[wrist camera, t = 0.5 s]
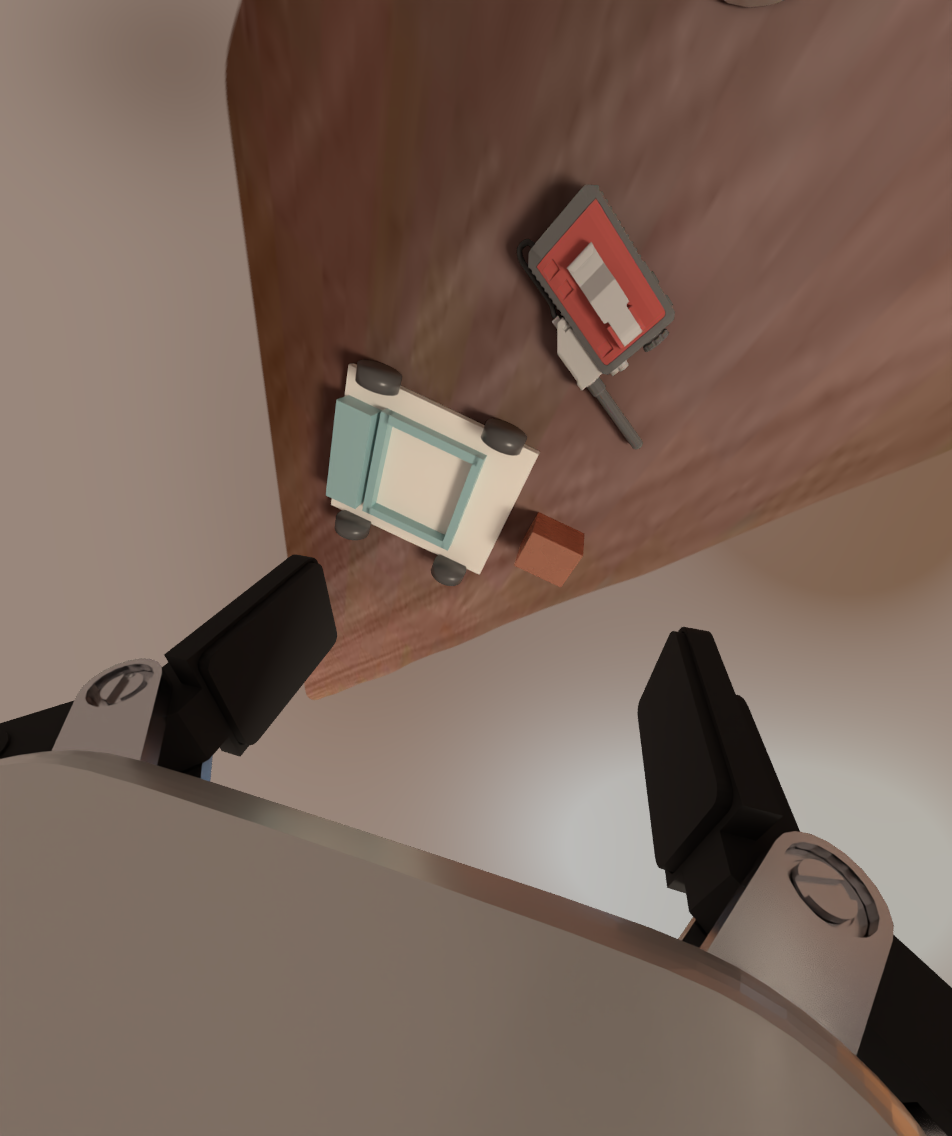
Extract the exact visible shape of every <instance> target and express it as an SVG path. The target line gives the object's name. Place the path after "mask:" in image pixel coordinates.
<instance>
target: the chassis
mask: <svg viewBox="0 0 952 1136" xmlns="http://www.w3.org/2000/svg"><path fill="white" fill-rule="evenodd" d="M401 380H402V375H401V374H400V373H399V372H398V371H397V370H395V369H394V368H392V367H390V366H387V365H385V364H382V363H379V362H376V361H371V360H359V361H358V362H357V365H356V364H354V363H352V364H349V365H348V373H347V381H346V389H345V397H342V398H340V399H337V400H336V409H335V418H334V427H333V436H332V445H331V454H330V462H329V471H328V480H327V489H326V496H328V497H330V498H332V501H331V505H332V506H335V507H337V508H339V509H341V510H343V511H341V512H339V513H338V514H337V515H336V521H335V531H336V532H337V533H338V534H339V535H340V536H341V537H343V538H346V539H350V540H361V539H364V538H366V537H367V536H368V534H369V530H370V525H371V524H373V525H375V526H377V527H379V528H381V529H383V530H386V531H388V532H390V533H392V534H394V535H396V536H398V537H400V538H403V539H405V540H407V541H409V542H411V543H413V544H415V545H418V546H420V547H422V548H424V549H426V550H428V551H430V552H432V553H435V554H437V555H438V556H437V557H436V558H435V560H434V563H433V565H432V568H431V574H432V576H433V577H434V579H435V580H437V581H438V582H439V583H441V584H444V585H447V586H455V585H458V584H460V583H461V581H462V579H463V577H464V575H465V573H466V569H469V570H471V571H473V572H475V573H477V574H479V575H480V573H481V571H482V568H483V566H484V564H485V562H486V560H487V558H488V556H489V554H490V552H491V550H492V548H493V546H494V544H495V542H496V540H497V538H498V536H499V534H500V532H501V530H502V528H503V526H504V524H505V522H506V520H507V518H508V516H509V514H510V512H511V510H512V508H513V506H514V504H515V502H516V500H517V498H518V495H519V493H520V491H521V489H522V487H523V485H524V483H525V481H526V479H527V477H528V475H529V473H530V471H531V469H532V467H533V465H534V463H535V461H536V459H537V457H538V455H539V452H540V451H538V450H536V449H534V448H531V447H529V446H527V445H525V442H526V440H527V436H526V434H525V433H524V432H523V431H522V430H520V429H519V428H517V427H516V426H514V425H512V424H510V423H508V422H505V421H502V420H498V419H488V420H487V421H486V424H485V425H483V424H481V423H479V422H477V421H474V420H472V419H470V418H468V417H466V416H464V415H462V414H460V413H458V412H455V411H453V410H451V409H449V408H447V407H445V406H443V405H441V404H439V403H436V402H434V401H432V400H430V399H428V398H426V397H424V396H422V395H420V394H417V393H415V392H413V391H411V390H409V389H407V388H405V387H403V386H401Z"/></svg>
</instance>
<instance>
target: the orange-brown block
mask: <svg viewBox="0 0 952 1136" xmlns="http://www.w3.org/2000/svg"><path fill="white" fill-rule="evenodd" d="M583 548H584V533H582V532H580V531H578V530H575V529H573V528H571V527H569V526H567V525H565V524H563V523H561V522H558V521H556V520H554V519H552V518H550V517H548V516H546V515H544V514H542V513H539V512H538V514H537V516H536V517H535V519H534V521H533V523H532V525H531V526H530V528H529V530H528V532H527V534H526V535H525V537H524V539H523V541H522V543H521V545H520V548H519V551H518V554H517V558H516V561H515V564H514V566H516V567H518V568H521V569H523V570H525V571H527V572H529V573H531V574H533V575H535V576H538V577H540V578H542V579H544V580H546V581H548V582H550V583H552V584H555V585H557V586H559V587H561V586H562V585H563V584H564V582H565V581H566V579H567V578H568V577H569V575H570V574H571V572H572V571H573V569H574V568H575V567H576V565H577V564H578V562H579V561H580V560H581V558H582V557H583Z"/></svg>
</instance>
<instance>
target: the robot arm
mask: <svg viewBox="0 0 952 1136" xmlns="http://www.w3.org/2000/svg"><path fill="white" fill-rule="evenodd" d="M724 1H725V2H727V3H729V4H734V5H739V6H744V7H758V6H767V5H773V4H776V3H779V2H781V1H784V0H724ZM336 639H337V631H336V626H335V622H334V617H333V613H332V608H331V604H330V600H329V595H328V591H327V586H326V582H325V577H324V573H323V569H322V566H321V565H320V564H318V562H317V560H316V559H315V558H312V557H307V556H301V555H292V556H290V557H289V558H287V559H286V560H285V561H284V562H283V563H281V564H280V565H278V566H277V567H276V568H275V569H273V570H272V571H271V572H270V573H268V574H267V575H266V576H264V577H263V578H262V579H261V580H259V581H258V582H257V583H255V584H254V585H253V586H252V587H250V588H249V589H248V590H247V591H245V592H244V593H243V594H241V595H240V596H239V597H237V598H236V599H235V600H234V601H232V602H231V603H230V604H229V605H227V606H226V607H225V608H223V609H222V610H221V611H220V612H218V613H217V614H216V615H214V616H213V617H212V618H211V619H209V620H208V621H207V622H205V623H204V624H203V625H202V626H200V627H199V628H198V629H196V630H195V631H194V632H193V633H192V634H190V635H189V636H188V637H186V638H185V639H184V640H183V641H181V642H180V643H179V644H177V645H176V646H175V647H174V648H172V649H171V650H170V651H168V652H167V653H166V654H165V657H166V658H167V660H168V663H167V664H166V665H165V666H163V667H161V665H160V664H159V663H158V662H157V661H155V660H152V659H135V660H130V661H126V662H123V663H120V664H117V665H114V666H112V667H110V668H108V669H106V670H104V671H103V672H101V673H99V674H98V675H96V676H95V677H93V678H92V679H91V680H89V681H88V682H87V683H86V684H85V685H84V686H83V687H82V689H81V690H80V691H79V693H78V694H77V696H76V698H75V700H74V701H71V702H68V703H65V704H61V705H58V706H55V707H52V708H48V709H45V710H42V711H39V712H36V713H32V714H29V715H26V716H23V717H20V718H16V719H13V720H10V721H7V722H3V723H0V1136H952V988H951V987H950V986H949V985H948V984H947V983H946V982H945V981H944V980H942V979H941V978H940V977H939V976H938V975H937V974H936V973H935V972H934V971H933V970H931V969H930V968H929V967H928V966H927V965H926V964H925V963H924V962H923V961H922V960H921V959H920V958H918V957H917V956H916V955H915V954H914V953H913V952H912V951H911V950H910V949H909V948H907V947H906V946H905V945H904V944H903V943H902V942H901V941H899V939H897V938H896V937H895V936H894V935H893V926H894V925H893V922H892V918H891V916H890V912H889V909H888V906H887V904H886V903H885V901H884V899H883V897H882V896H881V894H880V892H879V890H878V889H877V887H876V886H875V885H874V883H873V882H872V881H871V880H870V878H869V877H868V876H867V875H866V874H865V872H864V871H863V870H862V869H861V868H860V867H859V866H858V865H857V864H856V863H855V862H853V860H851V859H850V858H849V857H848V856H847V855H846V854H845V853H843V852H842V851H841V850H839V849H837V848H836V847H835V846H833V845H832V844H830V843H829V842H827V841H825V840H823V839H820V838H818V837H816V836H814V835H812V834H808V833H803V832H800V831H799V828H798V826H797V823H796V821H795V818H794V816H793V814H792V812H791V809H790V806H789V804H788V802H787V799H786V797H785V794H784V792H783V790H782V787H781V785H780V782H779V780H778V777H777V775H776V773H775V771H774V768H773V765H772V763H771V760H770V758H769V756H768V753H767V751H766V748H765V746H764V744H763V741H762V739H761V736H760V734H759V731H758V729H757V727H756V724H755V722H754V719H753V717H752V715H751V712H750V710H749V707H748V706H747V704H746V702H745V700H744V699H743V698H742V697H741V696H739V695H736V694H735V692H734V689H733V687H732V684H731V682H730V679H729V677H728V674H727V671H726V669H725V666H724V664H723V662H722V659H721V656H720V654H719V651H718V649H717V646H716V643H715V641H714V638H713V636H712V634H711V633H710V632H709V631H703V630H698V629H693V628H687V627H682V628H681V629H680V630H679V631H678V632H675V631H672V632H671V633H670V635H669V637H668V639H667V641H666V643H665V646H664V648H663V650H662V652H661V654H660V657H659V659H658V661H657V663H656V665H655V668H654V670H653V672H652V674H651V677H650V679H649V681H648V683H647V686H646V688H645V690H644V692H643V694H642V697H641V699H640V701H639V705H638V722H639V730H640V738H641V746H642V755H643V763H644V771H645V779H646V787H647V795H648V803H649V811H650V820H651V827H652V835H653V844H654V852H655V859H656V863H657V865H658V867H659V868H661V869H664V870H665V873H666V881H667V888H670V889H674V890H677V891H680V892H683V893H686V895H687V900H688V906H689V912H690V913H691V914H692V916H693V918H692V919H691V921H690V922H689V924H688V925H687V927H686V928H685V930H684V931H683V933H682V934H681V935H680V937H679V938H678V939H676V938H673V937H671V936H669V935H666V934H664V933H661V932H659V931H656V930H654V929H652V928H649V927H646V926H643V925H641V924H638V923H635V922H632V921H629V920H626V919H624V918H621V917H618V916H615V915H612V914H609V913H607V912H604V911H601V910H598V909H595V908H592V907H589V906H587V905H584V904H581V903H578V902H575V901H572V900H570V899H566V898H564V897H561V896H558V895H555V894H552V893H549V892H546V891H543V890H540V889H537V888H534V887H531V886H528V885H525V884H522V883H519V882H516V881H513V880H510V879H507V878H504V877H501V876H498V875H495V874H492V873H489V872H486V871H483V870H480V869H477V868H474V867H471V866H468V865H465V864H462V863H459V862H456V861H453V860H450V859H447V858H444V857H441V856H438V855H435V854H432V853H428V852H426V851H423V850H420V849H416V848H413V847H410V846H407V845H404V844H401V843H398V842H395V841H392V840H389V839H386V838H383V837H380V836H377V835H374V834H370V833H368V832H364V831H361V830H358V829H355V828H352V827H349V826H346V825H343V824H340V823H337V822H334V821H331V820H327V819H325V818H322V817H318V816H315V815H312V814H309V813H306V812H303V811H300V810H297V809H294V808H291V807H288V806H285V805H281V804H278V803H275V802H272V801H269V800H266V799H263V798H260V797H256V796H253V795H250V794H247V793H244V792H241V791H238V790H234V789H231V788H228V787H225V786H222V785H219V784H216V783H213V782H210V779H211V769H212V757H213V754H214V753H215V752H216V751H217V750H218V748H219V747H220V748H221V750H222V751H224V752H228V753H231V754H234V755H237V756H241V755H242V754H243V752H244V751H245V750H246V749H247V747H248V746H249V745H253V744H254V743H256V742H257V741H258V740H259V739H260V738H261V736H262V735H263V734H264V733H265V731H266V730H267V729H268V727H269V726H270V725H271V724H272V722H273V721H274V720H275V719H276V717H277V716H278V715H279V714H280V712H281V711H282V710H283V709H284V707H285V706H286V705H287V704H288V702H289V701H290V700H291V698H292V697H293V696H294V695H295V693H296V692H297V691H298V690H299V688H300V687H301V686H302V685H303V683H304V682H305V681H306V680H307V678H308V677H309V676H310V675H311V673H312V672H313V671H314V669H315V668H316V667H317V666H318V664H319V663H320V662H321V661H322V659H323V658H324V657H325V656H326V654H327V653H328V652H329V651H330V649H331V648H332V647H333V645H334V644H335V642H336Z"/></svg>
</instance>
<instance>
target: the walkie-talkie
mask: <svg viewBox="0 0 952 1136" xmlns="http://www.w3.org/2000/svg"><path fill="white" fill-rule="evenodd" d="M620 223H621V222H620V220H619V221H618V220H617V218H616V214H614V213H613V212H612V207H611V206H610V207H609V205H608V200H607V199H605V198H604V197H603V192H600V190H599V185H585V186H584V187H583V188H582V189H581V190H580V191H579V192H578V193H577V194H576V196H575V197H574V198H573V199H572V200H571V202H570V203H569V204H568V205H567V206H566V208H565V209H564V210H563V211H562V212H561V214H560V215H559V216H558V217H557V218H556V220H555V221H554V222H553V223H552V224H551V226H550V227H549V228H548V229H547V230H546V232H545V233H544V234H543V235H542V236H541V238H540V239H539V240H538V241H537V242H536V244H535V243H534V242H533V241H532V240H530V239H525V240H524V241H522V242H521V243H520V244H519V246H518V247H517V257H518V260H519V263H520V264H521V266H522V267H523V268H524V270H525V271H526V273H527V274H528V275H529V277H530V278H531V280H532V281H533V282H534V284H535V285H536V287H537V288H538V290H539V291H540V292H541V294H542V295H543V297H544V298H545V300H546V301H547V303H548V304H549V306H550V310H551V315H552V317H553V319H554V320H553V321H552V323H553V324H554V325H555V327H556V328H557V354H558V356H559V357H560V358H561V360H562V361H563V363H564V364H565V365H566V367H567V368H568V370H569V371H570V372H571V374H572V375H573V377H574V378H575V379H576V381H577V385H578V387H579V388H580V389H581V390H583V389H584V388H585V387H587V388H588V390H589V391H590V392H591V394H592V395H593V396H594V397H596V398H597V399H598V401H599V402H600V404H601V405H602V406H603V408H604V409H605V410H606V412H607V413H608V415H609V416H610V417H611V419H612V420H613V422H614V423H615V424H616V426H617V427H618V428H619V430H620V431H621V433H622V434H623V435H624V437H625V438H626V440H627V441H628V442H629V444H630V445H631V446H632V448H633V449H639V448H641V447H642V444H643V442H642V440H641V439H640V437H639V436H638V434H637V433H636V431H635V430H634V429H633V427H632V426H631V424H630V423H629V421H628V420H627V419H626V417H625V416H624V414H623V413H622V412H621V410H620V409H619V407H618V406H617V404H616V403H615V402H614V400H613V399H612V397H611V396H610V395H609V393H608V392H607V390H606V389H605V387H606V386H605V385H604V383H603V382H602V380H601V379H600V378H599V376H600V375H601V374H602V373H603V374H607V375H608V374H610V373H611V375H612V376H614V375H615V374H616V373H617V372H619V371H620V372H621V371H623V370H624V369H625V368H626V367H627V366H628V365H629V364H628V363H627V359H628V358H629V357H631V356H632V355H633V354H634V353H635V352H636V351H638V350H639V349H640V348H641V347H642V346H643V349H644V351H645V352H648V351H650V350H652V349H653V348H655V347H656V346H657V345H659V344H660V343H661V342H662V341H663V340H664V339H665V338H666V337H667V336H668V334H669V332H668V330H667V329H664V328H665V327H666V326H667V325H669V324H670V323H671V322H672V321H673V320H674V314H675V311H674V309H673V308H672V305H673V304H672V302H671V301H670V299H669V297H668V296H667V295H664V293H663V291H662V290H661V288H660V286H659V285H658V283H659V281H658V279H657V277H656V276H655V274H654V272H653V271H652V272H651V271H650V270H649V268H648V266H647V265H646V263H645V261H644V262H643V261H642V260H641V255H638V253H637V248H634V246H633V245H632V244H633V242H632V241H630V240H629V235H628V234H627V235H626V233H625V232H624V231H625V228H624V227H623V228H622V227H621V225H620ZM526 246H530V247H531V250H530V251H529V259H528V265H527V263H526V262H525V260H524V258H523V255H522V250H523V248H524V247H526ZM539 281H540V282H539ZM548 294H549V295H548ZM552 300H553V301H552ZM554 304H556V306H557V309H558V310H560V312H561V315H563V316H564V317H563V318H562V319H561V317H560V316H559V315H558V316H557V314H556V310H555V305H554Z"/></svg>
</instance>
